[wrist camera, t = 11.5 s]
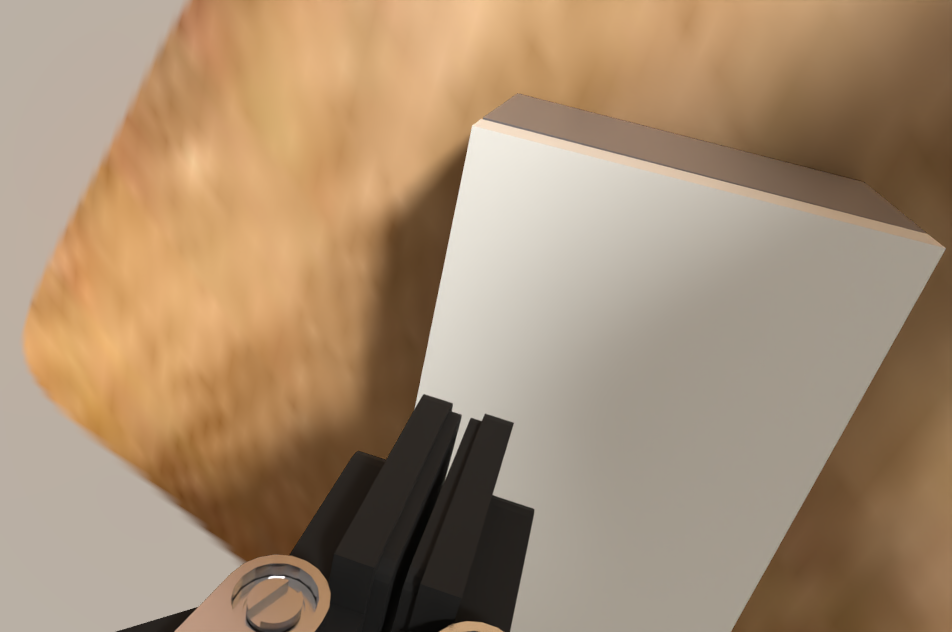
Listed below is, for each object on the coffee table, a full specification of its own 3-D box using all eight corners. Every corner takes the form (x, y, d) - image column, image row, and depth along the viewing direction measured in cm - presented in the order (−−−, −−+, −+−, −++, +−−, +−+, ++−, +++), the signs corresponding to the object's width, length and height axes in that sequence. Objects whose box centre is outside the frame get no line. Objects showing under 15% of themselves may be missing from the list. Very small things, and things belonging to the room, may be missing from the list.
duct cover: (481, 119, 13) (472, 125, 12) (928, 233, 12) (945, 248, 12) (359, 700, 21) (350, 724, 20) (624, 791, 20) (624, 820, 20)
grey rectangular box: (517, 93, 17) (483, 117, 13) (864, 181, 16) (927, 232, 12) (402, 596, 25) (362, 694, 21) (628, 674, 24) (625, 790, 20)
